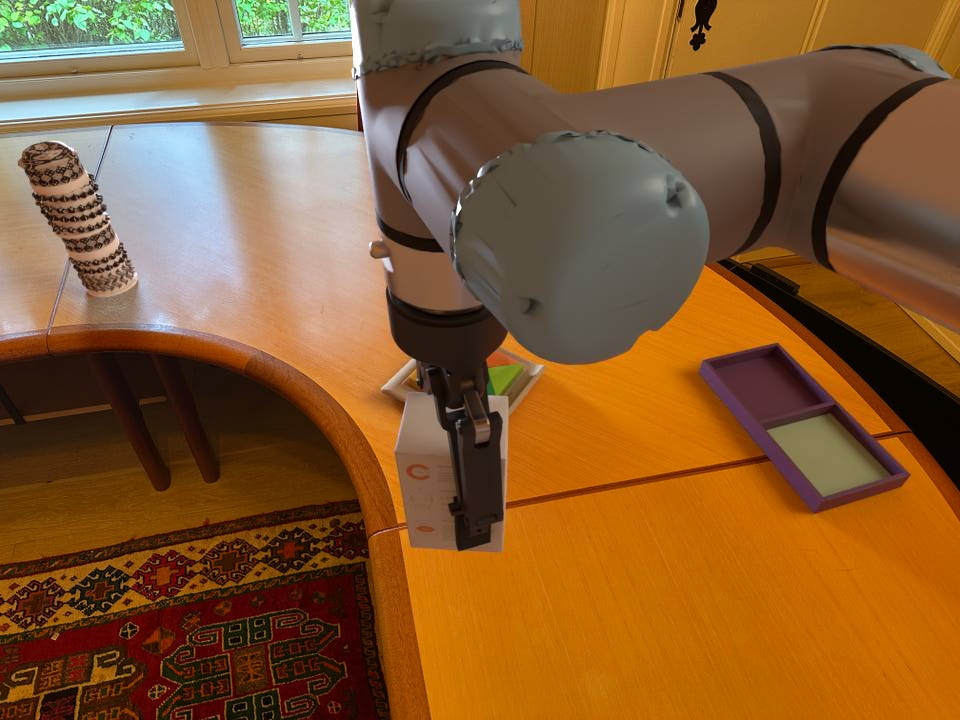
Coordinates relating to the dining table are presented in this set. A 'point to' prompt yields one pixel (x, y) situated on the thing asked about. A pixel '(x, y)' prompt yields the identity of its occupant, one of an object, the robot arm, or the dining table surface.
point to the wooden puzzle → (504, 378)
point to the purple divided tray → (802, 428)
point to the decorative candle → (78, 217)
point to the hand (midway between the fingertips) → (458, 499)
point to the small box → (437, 475)
